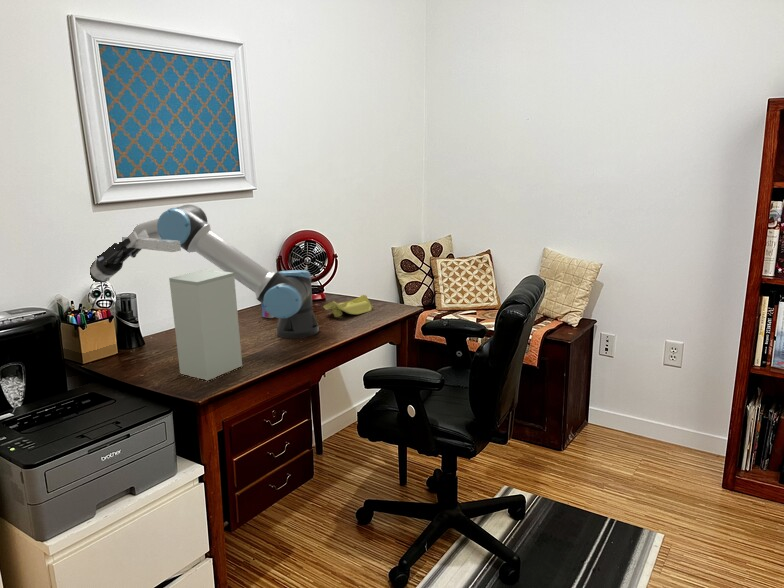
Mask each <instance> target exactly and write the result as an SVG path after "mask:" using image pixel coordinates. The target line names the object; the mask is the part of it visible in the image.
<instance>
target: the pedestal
mask: <svg viewBox="0 0 784 588" xmlns="http://www.w3.org/2000/svg"><path fill="white" fill-rule="evenodd" d="M168 282H169V291H170V297H171V305H172V306H171V307H172V315H173V323H174V331H175V341H176V350H177V357H178V358H177V359H178V366H179V367H178V368H179V374H180V373H181V374H185V375H189V376H193V377H197V378H201V379H205V380H209V379H211V378H213V377H216V376H218V375H220V374H222V373H225V372H227V371H230V370H232V369H235V368H237V367H240V366H242V367H243V359H242V358H243V357H242V348H241V347H242V345H241V337H240V325H239V314H238V313H239V312H238V304H237V303H238V302H237V293H236V283H235V282H236V279H235V278H234V273H232V272H224V271H223V270H214V269H208V268H206V269H203V270H202V269H201V270H198V271H193V272H190V273H185V274H181V275H177V276H173V277H169V281H168Z"/></svg>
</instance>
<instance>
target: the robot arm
mask: <svg viewBox="0 0 784 588" xmlns="http://www.w3.org/2000/svg"><path fill="white" fill-rule="evenodd" d="M136 225H137V226H136V227H135V228H134V230H133V232H132V233H131V234H130V235H129V236H128V237H127V238H126V239H125V240H124V241H122V242H119V244H117V243H114V244H113V245H112V246H111V247H109V248H108V249H107V250H106V251H105V252H103V253H102V254H101V255H99V256H97V258H95V261H94V262H93V263H92V265H91V267H90V275H91V278H92V279H93V281H95V282H105V283H106V282H109V281H110V279H111V278H112V277H113V276H114V275H116V274H117V273H118V272H119V271H121V270H122V268H123V267H124V266H123V265H124V262H125V261H126V260H128V259H129V257H130V258H132V259H133V258H136V257H137V255H138V254H139V253H140V251H142V249H138V248H129V247H131V246H132V245H133V244H134V243H135V242H136V241H137V240H138V239H139V238H138V237H144V238H155V239H166V240H177V241H180V246H181V249H183V250H184V251H186V252H188V253H197V254H198V255H200V256H201V257H203V258H204V259H206V260H207V261H208V262H210V264H213V265H214V266H216V268H218V269H220V270H221V271H224V272H232V273H234V279H235V281H238V282H239V283H240V284H242V285H243V286H245V288H248V289H249V290H251V291H252V292H253V293H254V294H255V297H256V300H257V301H258V302H260V304H261V303H263V304H264V306H265V309H266V311H267V312H268V313H269V314H270V315H272V316H273V317H274V318H276V319H278V320H277V326H276V335H277V336H278V337H281V338H284V339H304V338H310V337H312V336H315V335H316V334H318V333H319V331H320V329H319V323H318V321H317V318H316V315H315V313H314V310H313V293H312V292H313V291H312V277H311V272H310V271H309V270H303V269H301V270H300V269H294V270H293V269H291V270H290V269H289V270H280V271H270V270H268V269H267V268H265V267H263V266H262V264H261V265H260V263H258V262H257V261H255V260H253V259H252V258H250V256H248V255H246V254H245V253H243V252H242V251H241V250H239V249H238V248H236V247H235V246H233V245H232V244H230V243H229V242H228V241H226V240H225V239H223V238H222V237H220V236H219V235H218V234H216V233H215V232H213V231H212V230H211V224H210V223H208V218H207V214H206V212H205V211H204V210H203V209H202V208H200V206H198V205H194V204H183V205H182V206H177V207H176V206H175V207H171V208H168V209H167V210H165V211H163V212H162V213H161V215H160V216H159V217H158V218H156V219H153V220H149V221H146V222H142V223H139V225H138V224H136ZM114 248H115V249H114Z"/></svg>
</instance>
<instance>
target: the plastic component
mask: <svg viewBox="0 0 784 588" xmlns="http://www.w3.org/2000/svg"><path fill="white" fill-rule="evenodd" d="M322 306H323V308H324V309H325V310H326V311H330V310H332V313H333V316H334V318H337V317H340V316H342V315H344V314H343V312H344V313H346V314H349V315H357V316H358V315H361V314H364V313H369V312H371V311H372V310H373V307H372V304H371V301H370V300H369V298H368V295H367V294H362V295H361V296H358V297H356V298H353V299H351V300H348V301H347V300H346V301H344V302H339V303H337V302H336V301H331V302H329V303H328V302H327V304H324V305H322Z"/></svg>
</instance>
